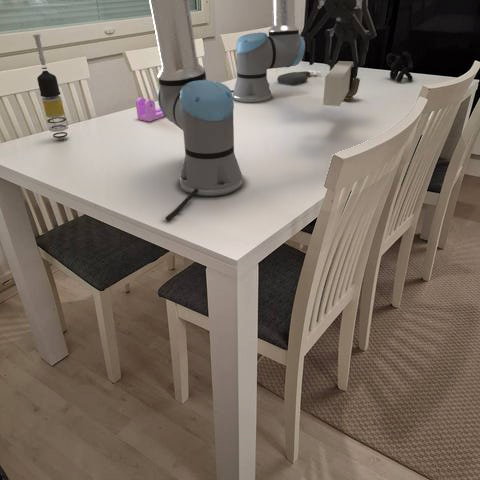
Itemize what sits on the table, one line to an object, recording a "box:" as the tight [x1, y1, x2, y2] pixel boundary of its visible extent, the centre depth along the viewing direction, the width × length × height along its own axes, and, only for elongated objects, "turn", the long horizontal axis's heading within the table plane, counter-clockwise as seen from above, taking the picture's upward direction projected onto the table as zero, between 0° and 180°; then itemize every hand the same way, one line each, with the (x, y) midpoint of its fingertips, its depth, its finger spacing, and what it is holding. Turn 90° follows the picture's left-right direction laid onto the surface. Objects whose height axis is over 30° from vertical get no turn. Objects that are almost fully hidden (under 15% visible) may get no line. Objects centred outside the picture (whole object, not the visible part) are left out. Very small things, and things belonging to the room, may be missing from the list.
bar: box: [322, 60, 354, 107], centre depth 136 cm, size 23×5×8 cm, turn 160°
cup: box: [343, 77, 361, 102], centre depth 171 cm, size 8×7×8 cm
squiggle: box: [385, 51, 414, 83], centre depth 198 cm, size 11×10×15 cm
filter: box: [32, 33, 69, 140], centre depth 132 cm, size 6×6×30 cm
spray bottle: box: [276, 69, 322, 86], centre depth 204 cm, size 3×11×25 cm
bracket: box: [135, 97, 165, 122], centre depth 158 cm, size 13×6×7 cm, turn 143°
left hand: (335, 65), depth 126 cm, fingers open, 13 cm apart
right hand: (341, 87), depth 144 cm, fingers closed on bar, 5 cm apart
